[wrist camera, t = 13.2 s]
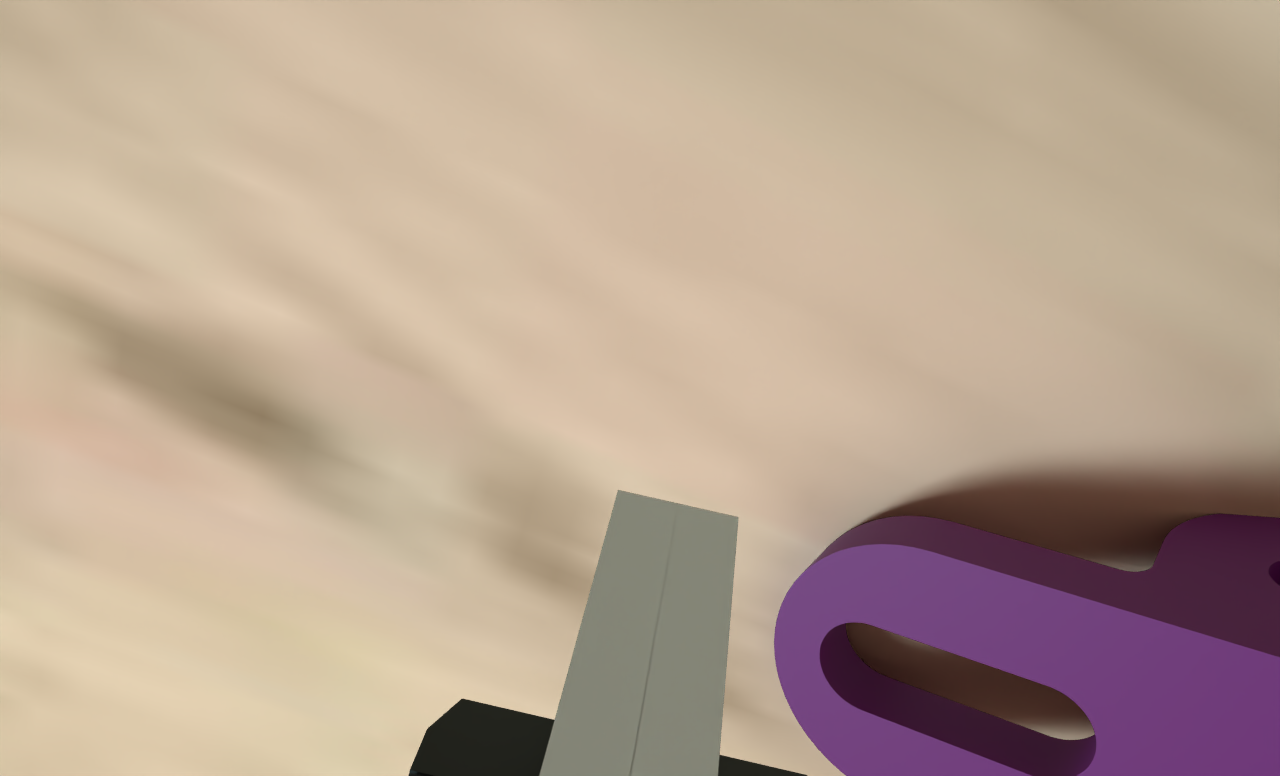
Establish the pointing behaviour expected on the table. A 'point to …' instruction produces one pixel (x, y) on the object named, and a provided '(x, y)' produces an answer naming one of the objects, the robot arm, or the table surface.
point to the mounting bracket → (1044, 651)
